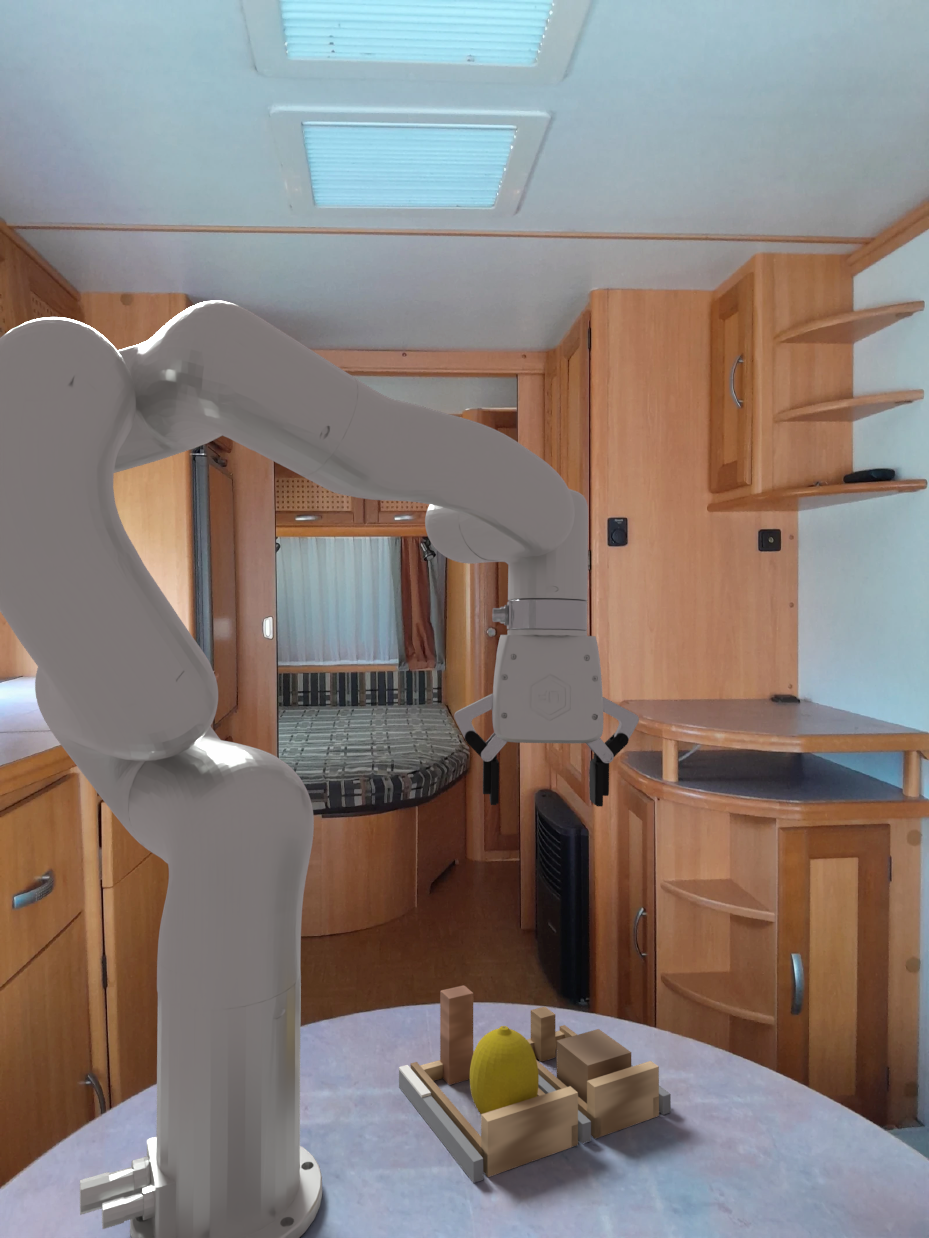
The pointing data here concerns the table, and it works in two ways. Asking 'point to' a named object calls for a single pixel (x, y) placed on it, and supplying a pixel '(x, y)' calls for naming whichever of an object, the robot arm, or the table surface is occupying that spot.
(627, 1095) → the cube
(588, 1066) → the walnut cube
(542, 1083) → the lane rails
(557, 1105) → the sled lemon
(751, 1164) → the table surface
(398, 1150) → the table surface
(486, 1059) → the lemon
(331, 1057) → the table surface
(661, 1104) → the rail right
